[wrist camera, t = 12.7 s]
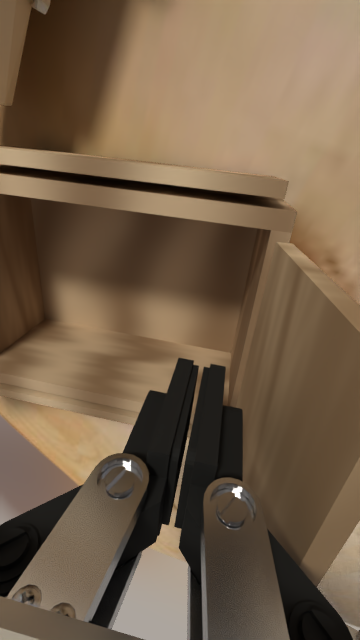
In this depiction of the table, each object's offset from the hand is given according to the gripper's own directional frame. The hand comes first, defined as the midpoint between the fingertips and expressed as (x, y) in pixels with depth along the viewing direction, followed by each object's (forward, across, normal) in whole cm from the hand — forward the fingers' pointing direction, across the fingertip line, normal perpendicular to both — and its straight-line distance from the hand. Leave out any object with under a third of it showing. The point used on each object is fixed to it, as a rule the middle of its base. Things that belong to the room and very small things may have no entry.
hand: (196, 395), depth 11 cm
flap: (+4, -2, 0) cm, 4 cm away
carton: (+12, +6, 0) cm, 13 cm away
